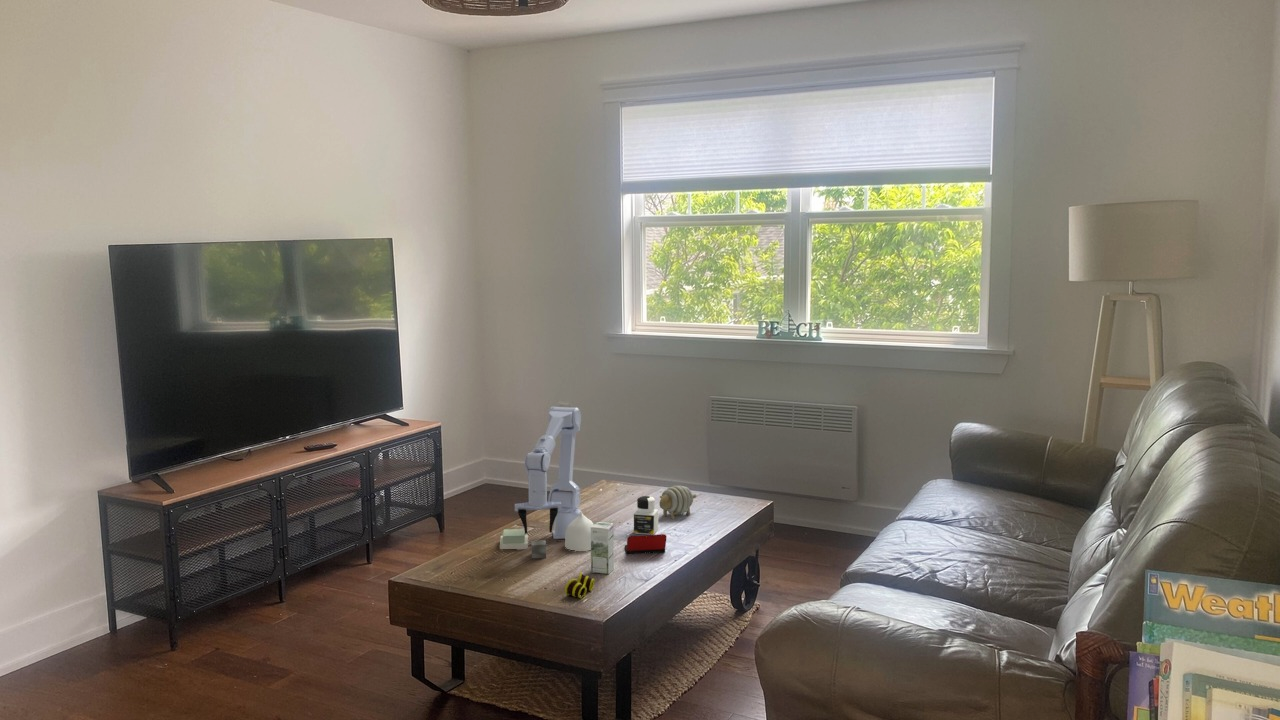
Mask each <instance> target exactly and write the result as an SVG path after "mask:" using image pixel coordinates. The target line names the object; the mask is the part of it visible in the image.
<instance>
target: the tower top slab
mask: <svg viewBox="0 0 1280 720" xmlns="http://www.w3.org/2000/svg"><path fill="white" fill-rule="evenodd" d="M525 535H526V534H525V530H524V528H514V529H513V528H511V529H506V528H505V529H503V533H502V536H503V544H507V543H525Z"/></svg>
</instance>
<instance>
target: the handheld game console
mask: <svg viewBox="0 0 1280 720" xmlns="http://www.w3.org/2000/svg"><path fill="white" fill-rule="evenodd" d="M666 543H667V535H666V533H665V534H664V533H663V534H661V533H660V534H659V533H658V534H654V535H649V534H639V535H630V536H628V537H627V540H626V544H625V545H624V550H625V552H626V555H641V554H664V553H666Z"/></svg>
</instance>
